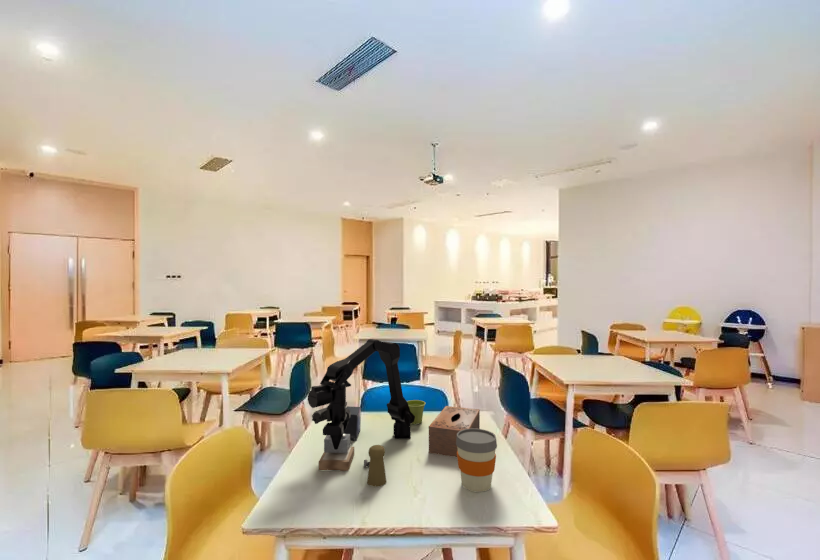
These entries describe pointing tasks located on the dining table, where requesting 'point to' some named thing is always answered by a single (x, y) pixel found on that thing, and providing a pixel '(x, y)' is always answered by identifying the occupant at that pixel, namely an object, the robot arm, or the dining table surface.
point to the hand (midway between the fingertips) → (337, 446)
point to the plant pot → (416, 410)
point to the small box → (353, 423)
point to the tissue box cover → (451, 429)
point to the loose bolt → (366, 463)
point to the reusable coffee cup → (476, 458)
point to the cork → (376, 466)
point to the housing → (343, 444)
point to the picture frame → (336, 460)
